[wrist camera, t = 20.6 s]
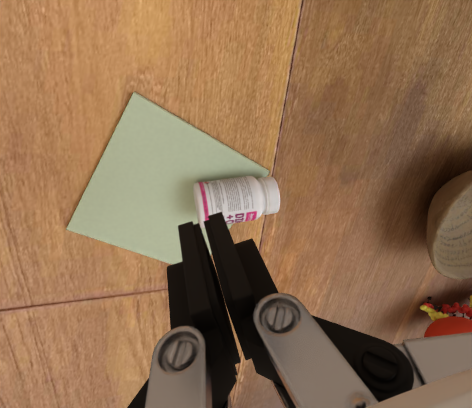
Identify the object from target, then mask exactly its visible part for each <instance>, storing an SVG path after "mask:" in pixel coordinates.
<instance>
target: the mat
mask: <svg viewBox="0 0 472 408" xmlns="http://www.w3.org/2000/svg"><path fill="white" fill-rule="evenodd" d="M269 173H270V171H269V170H268V169H266V168H264V167H263V166H261V165H259V164H258V163H256V162H254V161H252V160H251V159H249V158H247V157H246V156H244V155H242V154H240V153H239V152H237V151H235V150H234V149H232V148H230V147H228V146H227V145H225V144H223V143H222V142H220V141H218V140H216V139H215V138H213V137H211V136H210V135H208V134H206V133H205V132H203V131H201V130H199V129H198V128H196V127H194V126H193V125H191V124H189V123H187V122H186V121H184V120H182V119H181V118H179V117H177V116H175V115H174V114H172V113H170V112H169V111H167V110H165V109H164V108H162V107H160V106H158V105H157V104H155V103H153V102H152V101H150V100H148V99H146V98H145V97H143V96H141V95H140V94H138V93H136V92H133V94H132V96H131V98H130V100H129V102H128V104H127V106H126V108H125V110H124V112H123V114H122V116H121V118H120V120H119V123H118V125H117V127H116V129H115V131H114V133H113V135H112V137H111V139H110V141H109V143H108V145H107V147H106V149H105V151H104V153H103V155H102V157H101V159H100V161H99V163H98V165H97V167H96V169H95V171H94V173H93V175H92V177H91V179H90V181H89V183H88V185H87V187H86V189H85V191H84V194H83V196H82V198H81V200H80V202H79V204H78V206H77V208H76V210H75V212H74V214H73V216H72V218H71V220H70V222H69V224H68V226H67V228H66V230H69V231H72V232H75V233H78V234H81V235H84V236H87V237H90V238H93V239H96V240H99V241H103V242H106V243H109V244H112V245H115V246H118V247H121V248H124V249H127V250H130V251H133V252H136V253H139V254H142V255H145V256H148V257H151V258H154V259H157V260H160V261H164V262H167V263H170V264H176V263H179V262H182V254H181V246H180V239H179V232H178V225H181V224H184V223H187V222H190V221H193V224H197V223H198V219H197V213H196V207H195V201H194V193H193V186H194V184H195V183H198V182H206V181H214V180H222V179H229V178H237V177H244V176H253V177H254V178H255V179H256V180H257V179H258V178H262V177H267V175H268V174H269ZM232 224H233V223H232ZM232 224H227V227H228V229H230V227H231V226H232ZM201 230H202V233H203V236H204V238H205V241H206V244H207V247H208V250H209V253H210V255H211V254H212V252H211V248H210V244H209V241H208V237H207V233H206V229H205V228H201Z"/></svg>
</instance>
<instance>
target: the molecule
mask: <svg viewBox="0 0 472 408" xmlns="http://www.w3.org/2000/svg"><path fill="white" fill-rule="evenodd" d="M470 298H471V299H469V298H468V299H469V300H470V308H469V307H468V305H466V304H464V305H463V307H460V306H459V304H458V303H454V306H451V308H450V306H449V305H447V304H442V307H443V308H442V307H438V306H436V305H433V306H432V304H430V303H429V300H431V297H428V298H427V299H428V302H427V303H424V304H423V305H422V306H420V309H421V310H424V311H426V312H427V313H428V315H429V316H430V317H431V320H432V321H434V322H433V323H432V324H430V326H429V327H428V328H427V330H426V332H425V335H424V337H433V336H442V335H451V334H459V333H468V332H472V320H471V319H472V295H471V296H470ZM441 308H442V309H441ZM457 310H458V312H459V313H462V314H463V315H464V313H466V316H468V317H470V319H466V318H464V316H463V317H457V316H456V314H453V313H455V312H456V311H457ZM447 311H448V312H449V313H452V314H453V316H449V315H448V313H447ZM436 319H438V320H436Z"/></svg>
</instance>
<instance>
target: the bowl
mask: <svg viewBox="0 0 472 408" xmlns="http://www.w3.org/2000/svg"><path fill="white" fill-rule="evenodd" d="M427 249H428V253H429V257H430V259H431V262H432V264H433V266H434V267H435V269H436V270H437V271H438V272H439V273H440V274H442V275H443V276H445V277H448V278H452V279H468V278H472V170H470V171H467V172H465V173H463V174H461V175H459V176H457V177H455V178H453V179H451V180H450V181H449V182H447V183H446V184H445V185H443V186H442V187H441V188H440V189H439V190H438V191H437V192H436V193H435V195H434V197H433V199H432V201H431V204H430V207H429V210H428V217H427Z"/></svg>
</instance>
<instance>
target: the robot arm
mask: <svg viewBox="0 0 472 408" xmlns="http://www.w3.org/2000/svg"><path fill="white" fill-rule="evenodd" d="M208 218H209V220H206V221H203V222H204V226H205V229H206V233H207V237H208V241H209V244H210V248H211V252H212V255H213V259H214V263H215V267H216V270H217V273H216V270H215V267H214V264H213V261H212V258H211V256H210V253H209V250H208V247H207V244H206V241H205V238H204V236H203V233H202V230H201V227H200V224H199V223H197V224H193V221H190V222H187V223H184V224H181V225H178V232H179V239H180V246H181V254H182V262H179V263H176V264H173V265H170V266H168V267H167V279H168V294H169V309H170V324H171V330H170V331H169V332H167V333H166V334H165V335H164V336H163V337H162V338H161V339H160V340H159V342H158V343H157V345H156V347H155V349H154V352H153V355H152V362H151V369H150V376H149V379H148V380H147V381H146V383H145V384H144V385H143V387H142V388H141V390H140V391H139V392H138V394H137V395H136V396H135V398H134V399H133V401H132V402H131V403H130V405H129V406H128V407H127V408H232V405H231V397H230V392H231V390H232V388H233V386H234V384H235V382H236V381H237V380H236V375H237V371H236V367H235V364H237V363H240V362H241V361H240V357H239V353H238V350H237V346H236V342H235V338H234V335H233V331H232V327H231V323H230V320H229V316H228V312H229V315H230V317H231V320H232V323H233V326H234V329H235V331H236V334H237V337H238V340H239V343H240V345H241V348H242V351H243V354H244V357H245V359H246V360H248V359H251V358H252V361H253V364H254V367H255V370H256V373H258V374H260V375H262V376H264V377H266V378H268V379H270V380H271V382H272V385H273V387H274V389H275V391H276V393H277V395H278V397H279V399H280V401H281V403H282V405H283V407H284V408H472V332H468V333H459V334H451V335H442V336H433V337H424V338H416V339H407V340H403V343H402V344H394V345H392V344H390V343H388V342H386V341H384V340H381V339H378V338H375V337H372V336H370V335H367V334H364V333H361V332H358V331H355V330H352V329H350V328H347V327H344V326H341V325H338V324H335V323H332V322H329V321H327V320H324V319H321V318H318V317H315V316H312V315H311V314H310V313H309V312H308V310H307V309H306V308H305V306H304V305H303V304H302V303H301V302H300V301H299V300H298V299H297V298H296V297H294V296H292V295H290V294H285V293H278V291H277V288H276V286H275V284H274V282H273V280H272V278H271V276H270V274H269V272H268V270H267V268H266V266H265V263H264V261H263V259H262V257H261V255H260V253H259V251H258V249H257V247H256V245H255V243H254V241H253V239H249V240H246V241H243V242H240V243H237V244H234V242H233V240H232V237H231V235H230V232H229V229H228V227H227V224H226V222H225V219H224V216H223V214H222V212H219V213H216V214H213V215H209V216H208ZM217 274H218V276H217ZM218 278H219V279H218ZM219 281H220V283H219ZM220 285H221V286H220ZM221 289H222V290H221ZM222 292H223V294H222ZM223 296H224V297H223ZM224 299H225V301H224ZM225 303H226V305H225ZM226 306H227V309H228V312H227V309H226Z"/></svg>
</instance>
